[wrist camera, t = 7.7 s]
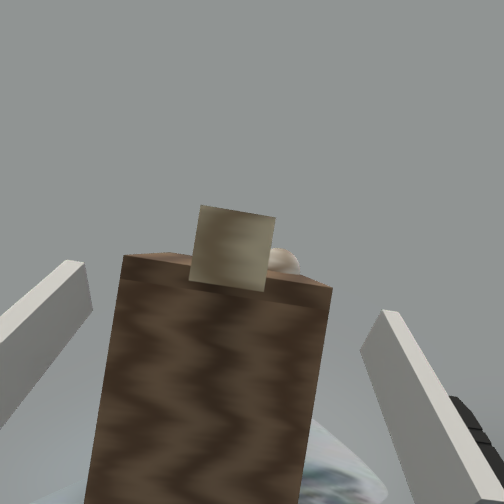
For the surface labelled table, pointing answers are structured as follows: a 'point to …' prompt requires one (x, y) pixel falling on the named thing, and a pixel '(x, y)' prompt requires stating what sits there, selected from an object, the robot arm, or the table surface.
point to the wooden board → (232, 248)
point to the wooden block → (207, 386)
